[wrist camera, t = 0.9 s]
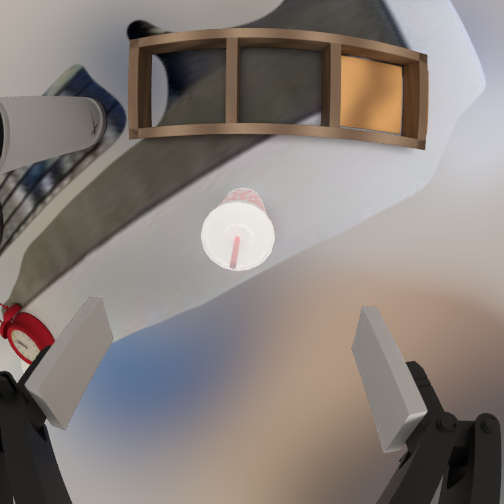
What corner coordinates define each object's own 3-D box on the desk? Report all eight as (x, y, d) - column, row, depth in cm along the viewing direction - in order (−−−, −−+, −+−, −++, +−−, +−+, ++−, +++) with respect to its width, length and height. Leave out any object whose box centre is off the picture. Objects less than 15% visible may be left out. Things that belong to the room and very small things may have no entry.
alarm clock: (45, 379, 43) (-18, 339, 36) (53, 355, 48) (-6, 316, 41) (59, 358, 40) (-13, 311, 33) (68, 331, 45) (2, 286, 38)
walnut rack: (143, 137, 30) (129, 139, 26) (143, 47, 25) (130, 40, 22) (410, 146, 29) (427, 150, 26) (413, 60, 25) (430, 55, 21)
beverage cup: (241, 244, 35) (232, 317, 22) (203, 206, 33) (170, 262, 20) (282, 209, 33) (297, 268, 20) (244, 168, 31) (233, 202, 18)
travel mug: (119, 121, 29) (-16, 140, 11) (83, 159, 31) (-46, 210, 12) (91, 84, 27) (-44, 79, 9) (57, 123, 29) (-73, 151, 10)
